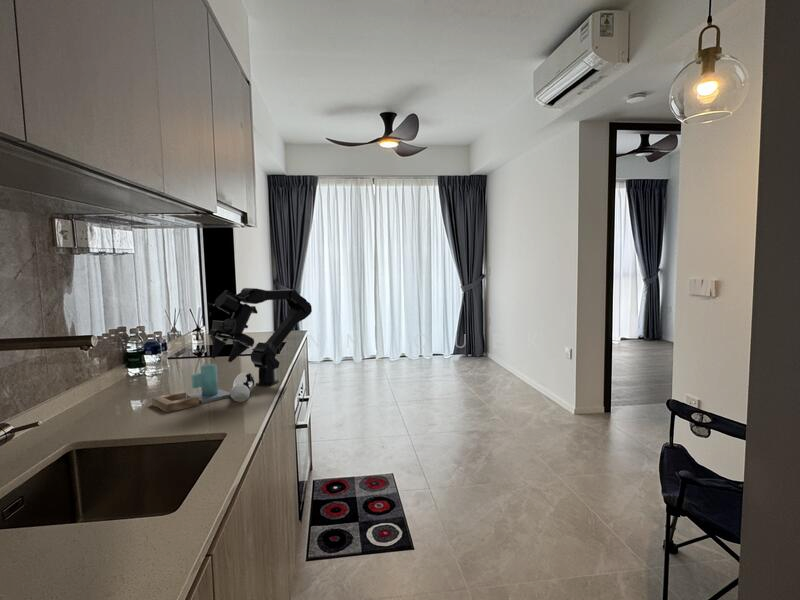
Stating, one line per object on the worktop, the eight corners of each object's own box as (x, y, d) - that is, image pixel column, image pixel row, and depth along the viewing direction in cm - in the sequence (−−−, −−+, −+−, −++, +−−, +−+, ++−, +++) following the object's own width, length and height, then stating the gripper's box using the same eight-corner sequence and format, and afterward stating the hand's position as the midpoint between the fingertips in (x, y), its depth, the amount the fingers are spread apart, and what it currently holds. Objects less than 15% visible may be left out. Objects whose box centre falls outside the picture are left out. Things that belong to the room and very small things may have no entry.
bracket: (182, 398, 160) (182, 391, 160) (198, 404, 152) (198, 397, 152) (152, 405, 153) (151, 397, 152) (167, 412, 145) (167, 404, 145)
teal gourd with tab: (213, 391, 165) (212, 363, 164) (220, 393, 161) (219, 365, 161) (190, 396, 159) (188, 367, 158) (197, 399, 155) (195, 369, 154)
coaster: (216, 390, 169) (216, 388, 169) (232, 396, 162) (232, 393, 162) (186, 397, 161) (186, 394, 161) (201, 403, 153) (201, 400, 153)
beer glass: (247, 380, 155) (251, 368, 169) (226, 387, 153) (232, 375, 168) (253, 399, 156) (257, 386, 170) (233, 406, 155) (238, 392, 169)
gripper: (206, 307, 166) (186, 348, 161) (240, 312, 156) (220, 355, 151) (229, 320, 175) (211, 359, 169) (262, 325, 165) (244, 367, 159)
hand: (220, 360), depth 162 cm, fingers open, 9 cm apart
